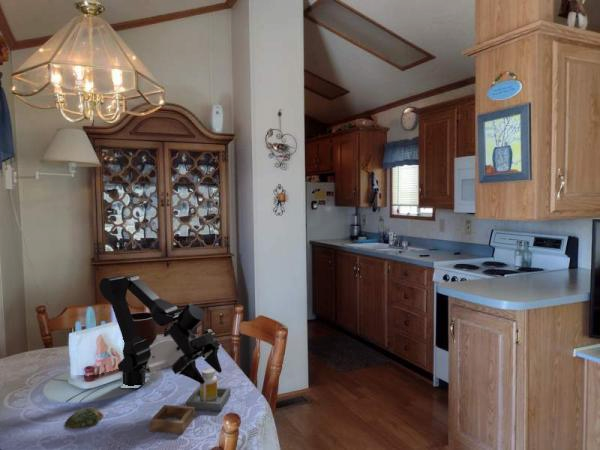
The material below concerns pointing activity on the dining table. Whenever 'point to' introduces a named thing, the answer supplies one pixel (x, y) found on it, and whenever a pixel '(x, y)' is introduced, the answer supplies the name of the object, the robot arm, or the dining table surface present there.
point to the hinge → (163, 355)
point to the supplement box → (197, 330)
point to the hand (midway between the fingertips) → (212, 377)
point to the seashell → (84, 418)
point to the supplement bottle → (208, 386)
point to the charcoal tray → (215, 406)
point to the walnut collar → (172, 425)
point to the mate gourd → (145, 326)
